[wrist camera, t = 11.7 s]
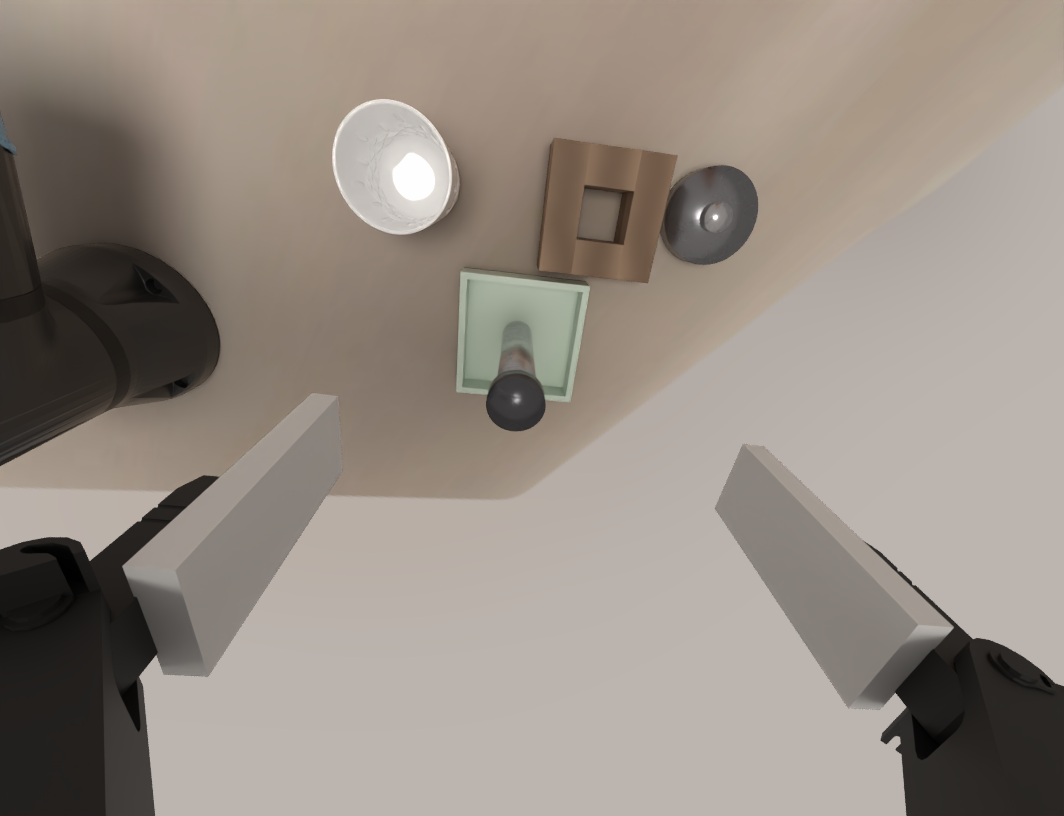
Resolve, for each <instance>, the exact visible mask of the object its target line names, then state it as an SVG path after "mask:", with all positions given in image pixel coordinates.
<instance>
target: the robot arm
mask: <svg viewBox="0 0 1064 816" xmlns="http://www.w3.org/2000/svg"><path fill="white" fill-rule="evenodd" d="M13 155H17V152H16V148H15V146H14V144H13V143H11V142H10V141H9V140H8V137H7V134H6V130H5V127H4V124H3V120H2V117H1V113H0V466H1V465H3V464H5V463H7V462H9V461H11V460H13V459H15V458H17V457H19V456H21V455H23V454H25V453H27V452H29V451H30V450H32V449H34V448H36V447H38V446H40V445H42V444H44V443H46V442H48V441H50V440H52V439H54V438H56V437H58V436H59V435H61V434H63V433H65V432H67V431H69V430H71V429H73V428H75V427H77V426H79V425H81V424H83V423H85V422H87V421H89V420H90V419H92V418H94V417H96V416H98V415H100V414H102V413H104V412H106V411H108V410H110V409H112V408H117V407H124V406H131V405H138V404H144V403H151V402H158V401H164V400H168V399H172V398H175V397H177V396H180V395H182V394H184V393H186V392H188V391H189V390H191V389H193V388H195V387H197V386H198V385H200V384H201V383H203V382H204V381H205V380H206V379H207V378H208V377H209V376H210V374H211V373H212V371H213V370H214V368H215V365H216V363H217V359H218V354H219V339H218V333H217V329H216V325H215V323H214V320H213V318H212V315H211V313H210V311H209V309H208V308H207V306H206V304H205V303H204V301H203V300H202V298H201V297H200V296H199V294H198V293H197V292H196V291H195V289H194V288H193V287H192V286H191V285H190V284H189V283H188V282H187V281H186V280H185V279H184V278H183V277H182V276H181V275H179V274H178V273H177V272H176V271H175V270H173V269H172V268H171V267H169V266H168V265H166V264H165V263H163V262H162V261H160V260H158V259H156V258H155V257H153V256H151V255H149V254H146V253H144V252H142V251H139V250H136V249H133V248H130V247H127V246H122V245H117V244H107V243H98V244H86V245H75V246H69V247H65V248H61V249H58V250H55V251H53V252H51V253H49V254H47V255H45V256H43V257H41V258H39V259H37V260H36V255H35V251H34V246H33V242H32V237H31V233H30V229H29V224H28V220H27V215H26V211H25V206H24V202H23V197H22V193H21V188H20V184H19V179H18V175H17V170H16V166H15V161H14V157H13ZM342 471H343V469H342V452H341V434H340V417H339V399H338V396H333V395H325V394H316V393H311V394H310V395H309V396H308V397H307V398H306V399H305V400H304V401H303V402H302V403H300V404H299V405H298V406H297V407H296V408H295V409H294V410H293V411H292V412H291V413H290V414H288V415H287V416H286V417H285V418H284V419H283V420H282V421H281V422H280V423H279V424H277V425H276V426H275V427H274V428H273V429H272V430H271V431H270V432H269V433H268V434H267V435H265V436H264V437H263V438H262V439H261V440H260V441H259V442H258V443H257V444H256V445H254V446H253V447H252V448H251V449H250V450H249V451H248V452H247V453H246V454H245V455H244V456H242V457H241V458H240V459H239V460H238V461H237V462H236V463H235V464H234V465H233V466H231V467H230V468H229V469H228V470H227V471H226V472H225V473H224V474H223V475H222V476H221V477H216V476H205V475H203V476H201V477H199V478H197V479H195V480H193V481H191V482H189V483H187V484H185V485H183V486H181V487H179V488H177V489H176V490H175V491H174V492H172V493H171V494H170V495H169V496H168V497H166V498H165V499H164V500H163V501H162V502H160V504H158V507H157V508H153V509H152V510H151V511H150V512H148V513H147V514H146V515H145V516H144V517H142V520H141V522H136V523H135V524H134V525H133V526H132V527H130V528H129V529H128V530H127V531H126V532H125V533H124V534H122V535H121V536H120V537H118V538H117V539H116V540H115V541H114V542H112V543H111V544H110V545H109V546H108V547H106V548H105V549H104V550H103V551H102V552H100V553H99V554H98V555H97V556H96V557H94V558H93V559H92V560H91V561H89V559H88V557H87V555H86V552H85V550H84V548H83V546H82V544H81V543H80V542H79V541H76V540H73V539H70V538H67V537H65V538H63V537H62V538H61V537H58V538H57V537H56V538H55V537H48V538H42V539H36V540H31V541H26V542H21V543H18V544H15V545H12V546H10V547H7V548H4V549H1V550H0V816H155V811H154V800H153V789H152V778H151V768H150V757H149V747H148V737H147V736H148V735H147V725H146V714H145V703H144V693H143V685H142V683H141V680H140V678H139V676H140V674H141V673H142V672H143V671H144V669H145V668H146V667H147V666H148V664H149V663H150V662H151V661H152V659H153V658H154V657H155V656H156V655H157V658H158V661H159V663H160V666H161V668H162V671H163V673H164V674H165V675H185V676H205V677H208V676H209V675H210V673H211V672H212V670H213V669H214V667H215V665H216V664H217V662H218V661H219V659H220V658H221V656H222V655H223V653H224V652H225V650H226V649H227V647H228V646H229V644H230V643H231V641H232V639H233V638H234V636H235V635H236V633H237V632H238V630H239V629H240V627H241V626H242V624H243V623H244V621H245V619H246V618H247V617H248V615H249V613H250V612H251V610H252V609H253V607H254V606H255V604H256V603H257V601H258V600H259V598H260V596H261V595H262V594H263V592H264V591H265V589H266V587H267V586H268V584H269V583H270V581H271V580H272V578H273V577H274V575H275V574H276V572H277V571H278V569H279V567H280V566H281V564H282V563H283V561H284V560H285V558H286V557H287V555H288V554H289V552H290V551H291V549H292V548H293V546H294V545H295V543H296V542H297V540H298V538H299V537H300V535H301V534H302V532H303V531H304V529H305V528H306V526H307V525H308V523H309V521H310V520H311V519H312V517H313V516H314V514H315V512H316V511H317V509H318V508H319V506H320V505H321V503H322V502H323V500H324V499H325V497H326V496H327V494H328V493H329V491H330V490H331V488H332V486H333V485H334V483H335V482H336V480H337V479H338V477H339V476H340V474H341V473H342ZM715 509H716V511H717V513H718V514H719V515H720V517H721V518H722V520H723V521H724V523H725V524H726V526H727V527H728V529H729V530H730V532H731V533H732V535H733V536H734V538H735V539H736V541H737V542H738V544H739V545H740V547H741V548H742V550H743V551H744V553H745V554H746V556H747V557H748V559H749V560H750V562H751V563H752V565H753V566H754V568H755V569H756V571H757V572H758V574H759V575H760V577H761V578H762V580H763V581H764V583H765V584H766V586H767V587H768V589H769V590H770V592H771V593H772V595H773V596H774V598H775V599H776V601H777V602H778V604H779V605H780V607H781V608H782V610H783V611H784V613H785V614H786V616H787V617H788V619H789V620H790V622H791V623H792V624H793V626H794V628H795V629H796V631H797V632H798V634H799V635H800V637H801V638H802V640H803V641H804V643H805V644H806V646H807V647H808V649H809V650H810V652H811V653H812V655H813V656H814V658H815V659H816V661H817V662H818V664H819V665H820V667H821V668H822V669H823V671H824V673H825V674H826V676H827V677H828V679H829V680H830V682H831V683H832V685H833V686H834V688H835V689H836V690H837V692H838V694H839V695H840V696H841V698H842V700H843V701H844V703H845V704H846V706H847V707H848V708H853V709H874V710H880V709H881V708H882V707H883V706H884V705H885V704H886V702H887V701H888V700H889V699H890V698H891V697H892V696H893V695H894V693H896V694H897V695H898V696H899V698H900V699H901V700H902V701H903V703H904V704H905V705H906V706H907V708H906V709H905V710H904V711H903V712H902V713H901V714H900V715H899V716H898V717H897V718H896V719H895V720H894V721H893V722H892V724H891V725H890V726H889V727H888V728H887V729H886V730H885V731H884V732H883V733H882V737H881V741H882V742H884V743H885V744H887V743H888V742H889V741H890V740H891V739H892V738H893V737H894V736H899V737H900V739H901V744H900V745H899V746H898V747H897V748H896V751H898V752H899V753H901V754H902V765H903V778H904V790H905V803H906V815H907V816H1064V686H1061V685H1058V684H1055V683H1054V682H1053V681H1052V680H1051V679H1050V678H1049V677H1048V676H1047V675H1046V674H1045V673H1044V672H1043V671H1042V670H1040V669H1039V668H1038V667H1036V666H1035V665H1034V664H1032V663H1031V662H1030V661H1028V660H1027V659H1026V658H1024V657H1023V656H1021V655H1019V654H1018V653H1016V652H1014V651H1012V650H1010V649H1009V648H1007V647H1005V646H1003V645H1000V644H998V643H995V642H993V641H990V640H986V639H980V638H976V639H972V638H971V637H970V636H969V635H968V634H967V633H966V632H965V631H964V630H963V629H961V628H960V627H959V626H958V625H957V624H956V623H955V622H954V621H953V620H952V619H951V618H950V617H949V616H948V615H946V613H944V612H943V611H942V610H941V609H940V608H939V607H938V606H937V605H935V603H934V602H933V601H932V600H931V599H929V597H927V596H926V595H925V594H924V593H923V592H922V591H921V590H920V589H919V588H918V587H917V586H914V585H912V582H911V581H910V580H909V579H908V578H907V577H906V576H905V575H904V574H903V573H902V572H899V571H897V567H896V566H894V565H893V564H892V563H891V562H890V561H889V560H888V559H887V558H886V557H885V556H884V555H883V554H882V553H881V552H879V551H878V550H876V549H875V548H873V547H872V546H871V545H869V544H868V543H866V542H864V541H863V540H862V539H861V538H860V537H859V536H858V535H857V534H856V533H854V532H853V531H852V530H851V529H850V528H849V527H848V526H847V525H846V524H845V523H844V522H843V521H842V520H840V518H839V517H838V516H837V515H836V514H834V513H833V512H832V511H831V510H830V509H829V508H828V507H827V506H826V505H825V504H824V503H823V502H822V501H821V500H820V499H819V498H818V497H816V495H814V494H813V493H812V492H811V491H810V490H809V489H808V488H807V487H806V486H805V485H804V484H803V483H802V482H801V481H800V480H799V479H798V478H797V477H796V476H795V475H794V474H792V473H791V472H790V471H789V470H788V469H787V468H786V467H785V466H784V465H783V464H782V463H781V462H780V461H779V460H778V459H777V458H776V457H775V456H774V455H772V453H770V452H769V451H768V450H767V449H766V448H765V447H764V446H756V445H748V444H743V445H742V447H741V449H740V452H739V454H738V456H737V459H736V461H735V463H734V466H733V468H732V470H731V472H730V475H729V477H728V479H727V482H726V484H725V486H724V489H723V491H722V493H721V495H720V497H719V500H718V502H717V505H716V507H715Z"/></svg>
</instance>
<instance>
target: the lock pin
mask: <svg viewBox="0 0 1064 816" xmlns="http://www.w3.org/2000/svg"><path fill="white" fill-rule="evenodd" d="M545 405H546V404H545V395H544V389H543V386H542V384H541V383H540V381H539V380H538V379H537V378H536V375H535V363H534V352H533V341H532V332H531V329H530V327H529V326H528V325H527V324H526V323H524V322H521V321H513V322H511V323H509V324H508V325H507V326H506V327H505V329H504V331H503V338H502V345H501V353H500V360H499V368H498V375H497V377H496V378H495V379H494V380H493V381H492V383H491V384H490V386H489V389H488V395H487V401H486V408H487V412H488V415H489V417H490V418H491V420H492V421H493V422H494V423H495V424H496V425H498V426H499V427H501V428H503V429H505V430H509V431H523V430H527V429H529V428H531V427H533V426H534V425H536V424H537V423H538V422H539V421H540V419H541V418H542V416H543V414H544V412H545Z"/></svg>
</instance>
